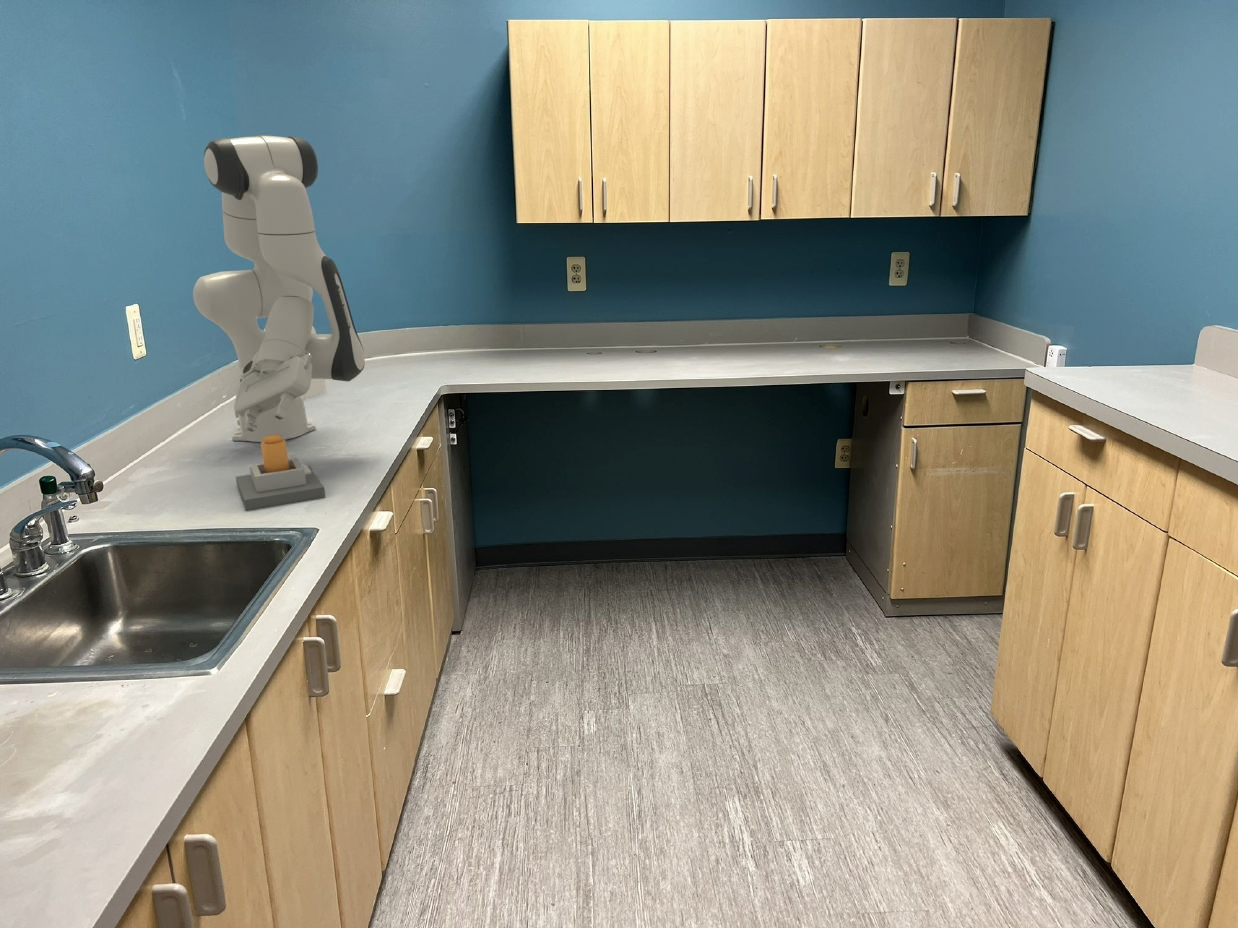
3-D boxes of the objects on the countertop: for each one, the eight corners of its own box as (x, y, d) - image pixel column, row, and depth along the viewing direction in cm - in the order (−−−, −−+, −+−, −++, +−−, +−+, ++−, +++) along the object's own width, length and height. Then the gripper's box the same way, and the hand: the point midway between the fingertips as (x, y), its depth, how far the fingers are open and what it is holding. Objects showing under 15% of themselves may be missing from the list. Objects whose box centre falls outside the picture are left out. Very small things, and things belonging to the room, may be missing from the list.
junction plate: (237, 486, 171) (233, 462, 169) (310, 474, 177) (307, 451, 176) (246, 510, 157) (241, 484, 156) (325, 496, 164) (322, 471, 162)
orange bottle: (265, 480, 167) (258, 435, 165) (289, 476, 169) (283, 432, 167) (268, 486, 164) (261, 440, 161) (292, 482, 166) (286, 437, 163)
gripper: (325, 356, 171) (311, 416, 165) (263, 385, 182) (248, 443, 175) (298, 340, 166) (283, 402, 160) (236, 371, 177) (220, 430, 171)
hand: (264, 424), depth 168 cm, fingers open, 8 cm apart
